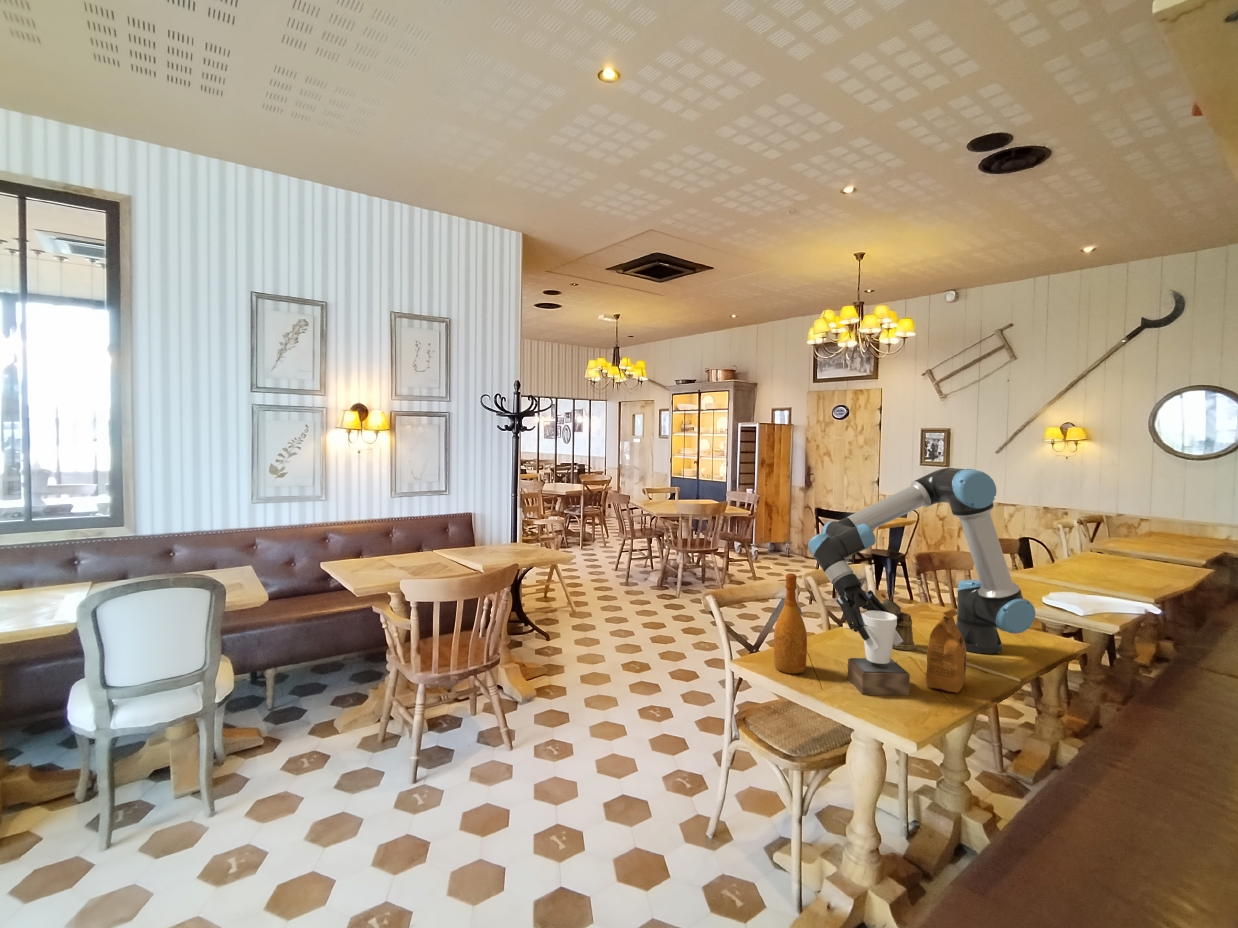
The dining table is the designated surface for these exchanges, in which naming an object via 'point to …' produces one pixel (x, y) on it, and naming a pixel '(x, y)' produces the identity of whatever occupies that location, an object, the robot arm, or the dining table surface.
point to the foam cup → (880, 634)
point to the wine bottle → (790, 633)
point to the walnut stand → (878, 677)
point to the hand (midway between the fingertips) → (888, 646)
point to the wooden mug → (901, 626)
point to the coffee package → (946, 655)
